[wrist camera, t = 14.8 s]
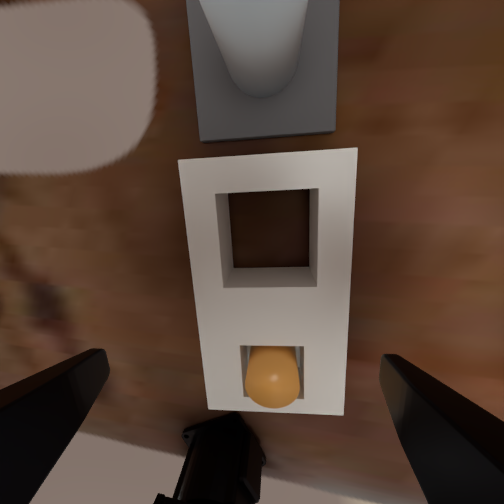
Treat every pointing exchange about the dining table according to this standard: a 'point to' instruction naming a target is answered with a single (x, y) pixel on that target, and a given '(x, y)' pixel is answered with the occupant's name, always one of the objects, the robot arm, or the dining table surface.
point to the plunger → (272, 376)
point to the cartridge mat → (279, 105)
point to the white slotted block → (272, 276)
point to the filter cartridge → (258, 41)
